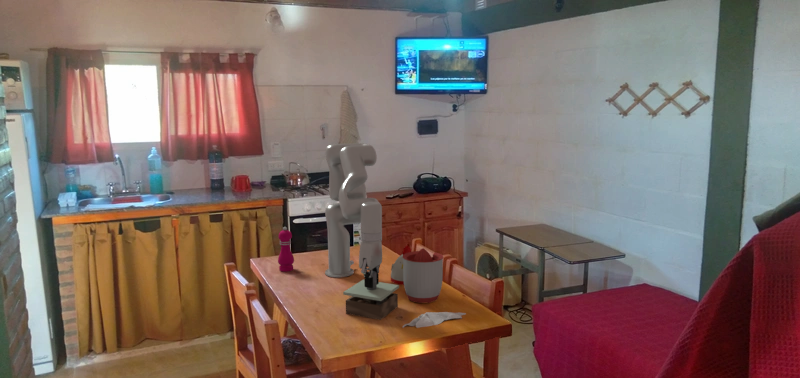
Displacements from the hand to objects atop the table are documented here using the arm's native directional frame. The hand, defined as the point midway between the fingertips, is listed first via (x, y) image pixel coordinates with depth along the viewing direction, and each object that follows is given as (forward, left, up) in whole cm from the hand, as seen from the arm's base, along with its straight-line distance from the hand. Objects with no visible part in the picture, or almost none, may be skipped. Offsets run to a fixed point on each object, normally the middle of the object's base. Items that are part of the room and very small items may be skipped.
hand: (371, 285), depth 202 cm
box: (0, 0, -9) cm, 9 cm away
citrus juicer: (-20, +12, -10) cm, 25 cm away
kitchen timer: (-38, -3, -10) cm, 39 cm away
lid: (0, 0, -2) cm, 2 cm away
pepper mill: (-29, -59, -10) cm, 66 cm away
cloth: (-1, +24, -10) cm, 26 cm away
